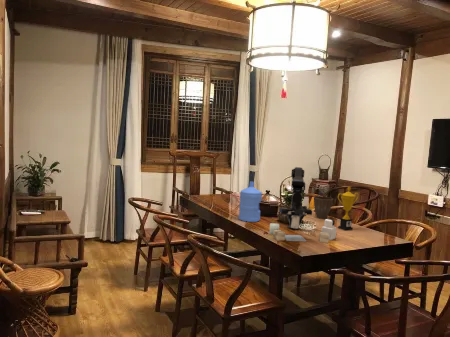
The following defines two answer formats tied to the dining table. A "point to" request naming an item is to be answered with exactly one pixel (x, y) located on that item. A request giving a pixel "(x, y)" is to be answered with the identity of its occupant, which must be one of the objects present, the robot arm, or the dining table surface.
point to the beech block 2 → (323, 237)
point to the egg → (295, 221)
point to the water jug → (250, 204)
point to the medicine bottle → (329, 228)
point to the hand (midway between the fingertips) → (294, 225)
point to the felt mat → (294, 238)
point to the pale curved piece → (273, 227)
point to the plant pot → (322, 206)
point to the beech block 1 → (279, 235)
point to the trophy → (347, 209)
